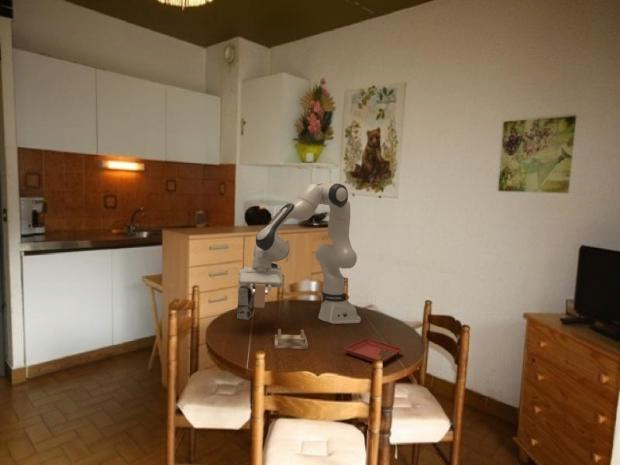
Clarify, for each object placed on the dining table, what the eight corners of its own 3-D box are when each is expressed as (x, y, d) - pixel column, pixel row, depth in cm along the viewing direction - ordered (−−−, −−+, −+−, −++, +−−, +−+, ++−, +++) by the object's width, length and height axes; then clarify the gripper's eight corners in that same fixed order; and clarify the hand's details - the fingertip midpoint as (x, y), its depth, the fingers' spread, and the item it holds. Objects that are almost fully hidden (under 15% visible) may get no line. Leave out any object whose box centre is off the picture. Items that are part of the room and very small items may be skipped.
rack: (305, 337, 186) (306, 329, 186) (307, 348, 173) (308, 339, 173) (274, 337, 185) (275, 328, 184) (274, 348, 172) (275, 338, 172)
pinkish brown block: (264, 305, 187) (265, 283, 186) (264, 307, 184) (265, 285, 183) (254, 305, 187) (255, 283, 186) (254, 307, 183) (255, 285, 182)
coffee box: (248, 320, 207) (250, 288, 205) (236, 318, 208) (237, 287, 206) (254, 315, 216) (256, 285, 214) (243, 313, 217) (244, 283, 215)
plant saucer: (342, 355, 170) (343, 347, 170) (365, 344, 184) (366, 337, 184) (381, 368, 159) (381, 360, 158) (402, 356, 172) (403, 348, 172)
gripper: (239, 263, 190) (236, 289, 181) (283, 265, 191) (282, 291, 183) (239, 271, 194) (236, 296, 186) (282, 272, 196) (282, 298, 187)
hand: (259, 293), depth 184 cm, fingers closed on pinkish brown block, 4 cm apart
